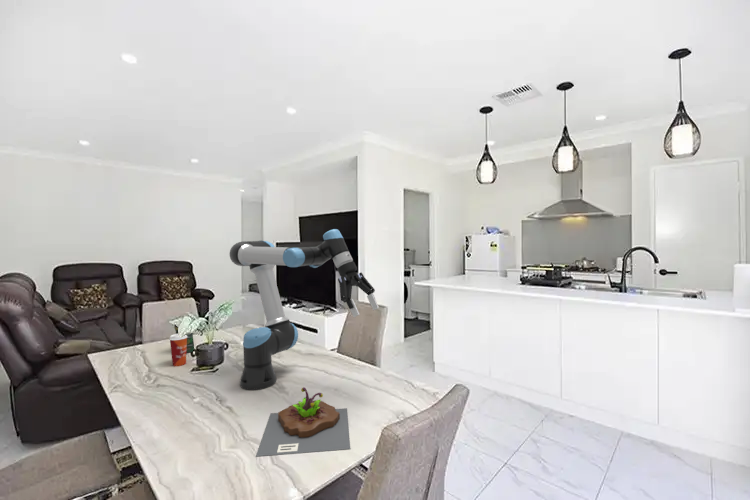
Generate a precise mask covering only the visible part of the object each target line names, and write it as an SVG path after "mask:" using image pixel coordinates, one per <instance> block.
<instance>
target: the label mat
mask: <svg viewBox="0 0 750 500" xmlns="http://www.w3.org/2000/svg"><path fill="white" fill-rule="evenodd" d="M335 411H337V412H339V413H340V419H339V420H338V422H337V423H336V424H335V425H334V426H333V427H329V428H327V429H324V430H322V431H319V432H318V433H316V434H315V435H313V436H310V437H299V436H298V435H289V433H288V432H284V428H283V427H282V426H281V423H280V422H279V421H278V412H272V413H271V412H270V414H269V417H268V419H267V422H266V425H265V428H264V431H263V434H262V438H261V440H260V443H259V446H258V448H257V451H256V455H255V457H256V458H257V457H267V456H268V457H270V456H281V455H292V454H293V455H294V454H295V455H296V454H305V453H319V452H331V451H345V450H351V440H350V429H349V428H350V427H349V414H348V413H349V412H348V407H344V408H335Z"/></svg>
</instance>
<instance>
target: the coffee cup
mask: <svg viewBox="0 0 750 500" xmlns="http://www.w3.org/2000/svg"><path fill="white" fill-rule="evenodd" d="M187 337H188V336H187V335H185V336H183V337H182V338H181V337H179V335H178V334H176V333H174V334H171V335H170V336H169V342H170V352H171V353H170V354H171V361H172V366H173V367H180V366H185V365H186V364H187V353H186V350H187Z"/></svg>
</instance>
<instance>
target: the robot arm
mask: <svg viewBox="0 0 750 500" xmlns="http://www.w3.org/2000/svg"><path fill="white" fill-rule="evenodd" d="M322 238H323V242H321V243H320V244H318V245H317V246H307V247H303V246H302V247H286V246H284V247H282V246H275V245H274V244H273V243H272V242H270V241H268V240H251V241H246V240H244V241H239V242H236V243H235V244H233V245H232V246H231V248H230V250H229V258H230V260H231V262H232V263H233V264H234V265H237V266H239V267H249V269H250V272H251V273H253V274H254V276H255V279H256V281H255V282H256V284H257V289H258V291H259V296H260V300H261V303H262V308H263V312H264V316H265V320H266V324H265V325H264V326H263V327H262V326H261V327H256V328H252V329H249V330H248V331H246V332H245V334H244V335H243V339H242V341H243V342H242V345H243V346H242V347H243V348H242V349H243V369H242V373H241V376H240V381H239V383H240V384H239V385H240V388H242V389H243V390H249V391H252V390H253V391H254V390H255V391H256V390H262V389H266V388H269V387H271V386H273V385H275V383H277V374H276V372H275V370H274V366H273V362H272V359H273V358H272V356H273V355H276V354H279V353H281V352H284V351H288V350H289V349H291V348H293V347H295V345H297V342H298V339H299V332H298V331H299V330H298V328H297V326H296V325H295V324H294V323H291V322H290V318H288V317H286V316H285V311H284V306H283V303H282V301H281V295H280V293H279V288H278V286H277V285H278V284H277V280H276V277H275V273H274V270H273V269H274V267H275V266H287V267H289V268H298V267H305V266H309V267H310V268H313V269H316V268H318V267H322V265H324V264H325V263H326V262H328V261H329V260H331V259H332V260H333V263H334V266H335V268H337V271H338V274H339V277H338V278H337V281H338V285H339V294H340V301H341V302H343V303H346V304H347V307H348V309H349V311H350V312H351V315H352V317H353V318H356V317H358V316H360V315H361V314H360V311H359V309H358V308H357V305H356V303H355V300H354V298H352V290H353V287H358V288H359V289H360V290H361V291H363V293H365V294H366V298H367V300H368V302H369V304H370V306H371V309H372V311H376V310H377V309H379V308H380V306H379V305H378V303H377V300H376V297H375V295H374V293H375V291H376V290H375V288H374V287H373V286H372V284H371V283H370V282H369V281H368V279H366V277H365V275H364V274H363V273H362V272H359V273H357V270H358V267H357V265H356V262H355V261H354V259H353V257H352V255H351V253H350V250H349V249H348V246H347V244H346V242H345V239H344V237H343V235H342V233H341V232H340V230H339V229H337V228H333V229H330V230H328V231H326V232H325V233H324V234H323V235H322Z"/></svg>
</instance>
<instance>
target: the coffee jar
mask: <svg viewBox="0 0 750 500" xmlns="http://www.w3.org/2000/svg"><path fill="white" fill-rule="evenodd" d="M173 328H174V330H175V334H178V327H177V326H176V325H175V324H174V327H173ZM193 335H194V332H193V333H191V334H188V335H187V336H188V337H187V350H186V354H188V353H189V354H190V353H192V352H194V351H195V342H194V336H193ZM193 350H194V351H193Z"/></svg>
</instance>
